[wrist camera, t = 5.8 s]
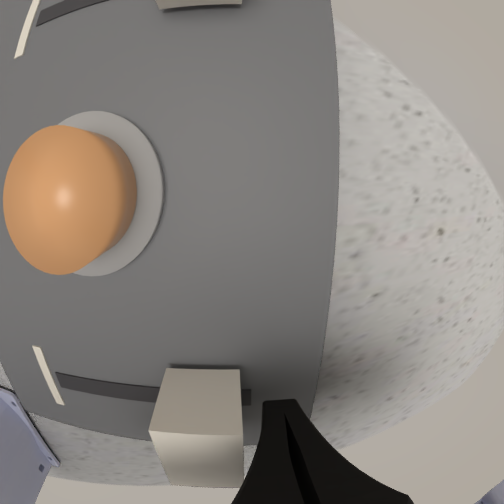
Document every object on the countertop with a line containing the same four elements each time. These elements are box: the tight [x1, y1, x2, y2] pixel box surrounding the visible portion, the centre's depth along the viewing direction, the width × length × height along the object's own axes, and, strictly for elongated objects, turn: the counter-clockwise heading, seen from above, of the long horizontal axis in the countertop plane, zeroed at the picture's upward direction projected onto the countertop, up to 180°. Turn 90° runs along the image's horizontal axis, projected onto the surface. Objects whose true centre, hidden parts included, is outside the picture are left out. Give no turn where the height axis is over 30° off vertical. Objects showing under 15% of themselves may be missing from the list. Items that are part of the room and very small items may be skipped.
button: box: [3, 125, 137, 275], centre depth 7 cm, size 4×4×2 cm
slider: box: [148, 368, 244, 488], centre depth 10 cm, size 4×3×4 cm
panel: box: [0, 0, 339, 446], centre depth 10 cm, size 26×18×2 cm
